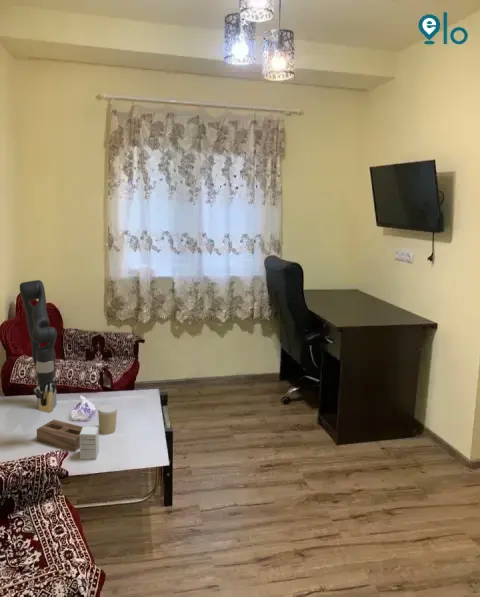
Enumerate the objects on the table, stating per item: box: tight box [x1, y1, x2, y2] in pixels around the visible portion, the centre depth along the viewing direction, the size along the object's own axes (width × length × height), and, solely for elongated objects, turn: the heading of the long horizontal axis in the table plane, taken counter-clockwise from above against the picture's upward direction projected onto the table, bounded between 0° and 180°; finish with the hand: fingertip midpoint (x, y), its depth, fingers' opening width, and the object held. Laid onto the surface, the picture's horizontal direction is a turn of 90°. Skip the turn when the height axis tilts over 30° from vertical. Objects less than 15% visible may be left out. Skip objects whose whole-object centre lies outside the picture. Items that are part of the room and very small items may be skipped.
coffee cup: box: [97, 404, 118, 435], centre depth 261 cm, size 9×9×12 cm
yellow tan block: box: [38, 390, 54, 414], centre depth 243 cm, size 2×6×10 cm, turn 67°
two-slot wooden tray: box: [36, 419, 84, 452], centre depth 249 cm, size 12×22×6 cm, turn 69°
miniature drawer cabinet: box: [79, 426, 100, 461], centre depth 237 cm, size 7×7×13 cm
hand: (45, 404), depth 243 cm, fingers closed on yellow tan block, 2 cm apart
